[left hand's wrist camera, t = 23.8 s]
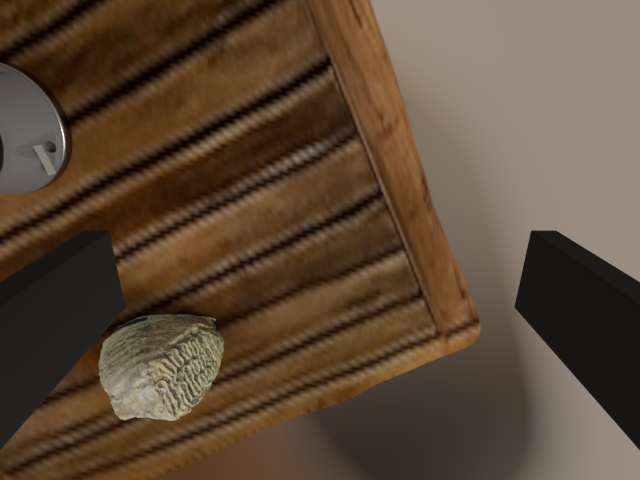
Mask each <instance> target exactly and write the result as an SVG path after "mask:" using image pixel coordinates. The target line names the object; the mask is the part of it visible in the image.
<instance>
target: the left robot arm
mask: <svg viewBox="0 0 640 480" xmlns="http://www.w3.org/2000/svg"><path fill="white" fill-rule="evenodd" d="M71 151H72V137H71V131H70V127H69V123H68V120H67V118H66V115H65V113H64V111H63V109H62V107H61V106H60V104H59V102H58V101H57V99H56V98H55V97H54V95H53V94H52V93H51V92H50V91H49V89H48V88H47V87H46V86H45V85H44V84H43V83H41V82H40V81H39V80H38V79H37V78H35V77H34V76H33V75H31V74H30V73H28V72H27V71H25V70H23V69H21V68H19V67H17V66H15V65H12V64H9V63H6V62H2V61H0V193H4V194H20V193H28V192H32V191H35V190H38V189H41V188H43V187H46V186H48V185H50V184H52V183H53V182H54V181H56V180H57V179H58V178H59V177H60V176H61V175H62V174H63V172H64V171H65V169H66V167H67V165H68V163H69V160H70V156H71ZM124 308H125V303H124V299H123V294H122V289H121V285H120V280H119V276H118V271H117V266H116V262H115V257H114V253H113V248H112V243H111V239H110V234H109V231H83V232H81V233H79V234H78V235H76V236H75V237H73V238H71V239H70V240H68V241H66V242H65V243H63V244H62V245H60V246H58V247H57V248H55V249H54V250H52V251H50V252H49V253H47V254H45V255H44V256H42V257H41V258H39V259H37V260H36V261H34V262H32V263H31V264H29V265H28V266H26V267H24V268H23V269H21V270H19V271H18V272H16V273H15V274H13V275H11V276H10V277H8V278H6V279H5V280H3V281H2V282H0V450H1V449H2V447H3V446H4V445H5V444H6V443H7V442H8V441H9V439H10V438H11V437H12V436H13V435H14V434H15V433H16V431H17V430H18V429H19V428H20V427H21V426H22V425H23V423H24V422H25V421H26V420H27V419H28V418H29V417H30V416H31V414H32V413H33V412H34V411H35V410H36V409H37V408H38V406H39V405H40V404H41V403H42V402H43V401H44V400H45V398H46V397H47V396H48V395H49V394H50V393H51V392H52V390H53V389H54V388H55V387H56V386H57V385H58V384H59V382H60V381H61V380H62V379H63V378H64V377H65V376H66V374H67V373H68V372H69V371H70V370H71V369H72V368H73V366H74V365H75V364H76V363H77V362H78V361H79V360H80V359H81V357H82V356H83V355H84V354H85V353H86V352H87V351H88V349H89V348H90V347H91V346H92V345H93V344H94V343H95V341H96V340H97V339H98V338H99V337H100V336H101V335H102V333H103V332H104V331H105V330H106V329H107V328H108V327H109V325H110V324H111V323H112V322H113V321H114V320H115V319H116V317H117V316H118V315H119V314H120V313H121V312H122V311H123V309H124ZM515 308H516V309H517V311H518V312H519V313H520V314H521V315H522V316H523V317H524V319H525V320H526V321H527V322H528V323H529V324H530V325H531V327H532V328H533V329H534V330H535V331H536V332H537V333H538V335H539V336H540V337H541V338H542V339H543V340H544V341H545V343H546V344H547V345H548V346H549V347H550V348H551V349H552V351H553V352H554V353H555V354H556V355H557V356H558V357H559V359H560V360H561V361H562V362H563V363H564V364H565V365H566V366H567V368H568V369H569V370H570V371H571V372H572V373H573V374H574V376H575V377H576V378H577V379H578V380H579V381H580V382H581V384H582V385H583V386H584V387H585V388H586V389H587V390H588V392H589V393H590V394H591V395H592V396H593V397H594V398H595V400H596V401H597V402H598V403H599V404H600V405H601V406H602V407H603V409H604V410H605V411H606V412H607V413H608V414H609V415H610V417H611V418H612V419H613V420H614V421H615V422H616V423H617V425H618V426H619V427H620V428H621V429H622V430H623V431H624V433H625V434H626V435H627V436H628V437H629V438H630V439H631V441H632V442H633V443H634V444H635V445H636V446H637V447H638V449H639V450H640V282H638V281H637V280H635V279H634V278H632V277H630V276H629V275H627V274H625V273H624V272H622V271H621V270H619V269H617V268H616V267H614V266H612V265H611V264H609V263H608V262H606V261H604V260H603V259H601V258H599V257H598V256H596V255H595V254H593V253H591V252H590V251H588V250H586V249H585V248H583V247H582V246H580V245H578V244H577V243H575V242H573V241H572V240H570V239H569V238H567V237H565V236H564V235H562V234H560V233H559V232H557V231H531V234H530V239H529V243H528V248H527V253H526V257H525V262H524V266H523V271H522V276H521V280H520V285H519V289H518V294H517V299H516V303H515Z"/></svg>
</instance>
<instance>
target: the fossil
mask: <svg viewBox="0 0 640 480" xmlns="http://www.w3.org/2000/svg"><path fill="white" fill-rule="evenodd" d="M215 320H216V319H214V318H211V317H207V316H195V315H182V314H179V315H170V314H163V315H150V316H143V317H139V318H136V319H134V320H131V321H128V322H127V323H126V324H123V325H120V326H118V327H117V328H116V329H115V330H114V331H113V332H112V334H111V335H110V336H109V337H108V338H107V339H105V340H104V342H103V349H102V350H101V356H100V360H99V369H100V372H99V375H100V381H101V384H102V385H103V388H104V390H105V391H106V392H107V393H108V395H109V396H110V400H111V404H112V407H113V409H114V412H115V414H116V415H117V416H118V417H119V418H120V419H123V420H128V419H130V418H133V417H138V418H145V417H149V418H154V419H164V420H170V421H173V420H177V419H179V418H180V417H181V416H183V415H185V414H187V413H189V412H191V411H192V408H193V407H194V406H195V405H196V404H198V403H199V402H200V400H201V399H202V398H203V397H204V396H205V395H206V393H207V392H208V390H209V389H210V387H211V384H212V381H213V380H214V379H215V377H216V375H217V373H218V370H219V367H220V364H221V359H222V356H223V349H224V340H223V337H222V336H221V334H220V333H219V332H218V331H217V330H216V326H215Z"/></svg>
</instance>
